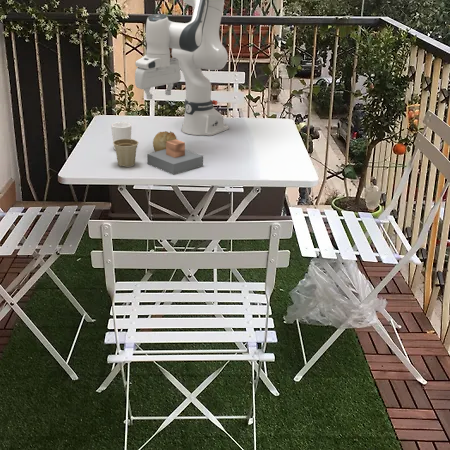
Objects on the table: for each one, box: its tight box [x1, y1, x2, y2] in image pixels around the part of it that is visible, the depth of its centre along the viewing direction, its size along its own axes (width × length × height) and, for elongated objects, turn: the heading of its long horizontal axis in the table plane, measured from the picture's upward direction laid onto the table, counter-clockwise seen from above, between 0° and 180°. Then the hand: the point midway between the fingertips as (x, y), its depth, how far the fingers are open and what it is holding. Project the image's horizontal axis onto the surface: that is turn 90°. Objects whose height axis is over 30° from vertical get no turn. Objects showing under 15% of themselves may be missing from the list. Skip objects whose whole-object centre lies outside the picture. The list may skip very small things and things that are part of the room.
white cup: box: [111, 121, 132, 151], centre depth 236 cm, size 8×8×10 cm
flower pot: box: [112, 138, 139, 168], centre depth 220 cm, size 9×9×9 cm
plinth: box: [146, 148, 204, 175], centre depth 223 cm, size 15×15×4 cm
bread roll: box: [152, 130, 177, 152], centre depth 237 cm, size 10×15×8 cm, turn 2°
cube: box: [166, 138, 186, 158], centre depth 221 cm, size 5×5×5 cm
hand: (158, 96), depth 226 cm, fingers open, 8 cm apart
